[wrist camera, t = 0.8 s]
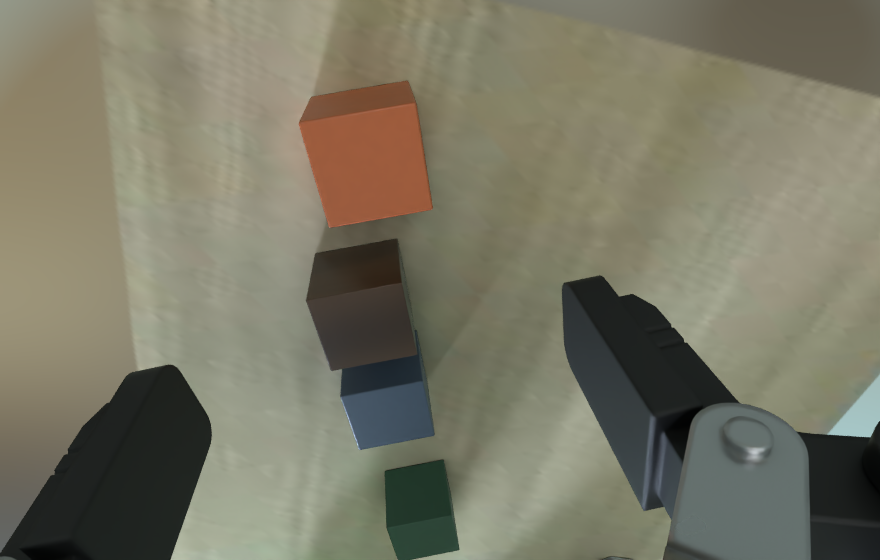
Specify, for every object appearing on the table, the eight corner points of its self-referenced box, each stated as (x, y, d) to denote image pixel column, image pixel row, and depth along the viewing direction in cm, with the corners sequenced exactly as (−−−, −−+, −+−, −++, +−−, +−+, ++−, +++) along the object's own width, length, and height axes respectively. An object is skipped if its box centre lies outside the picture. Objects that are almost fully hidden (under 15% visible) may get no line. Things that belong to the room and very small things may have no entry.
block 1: (310, 96, 22) (297, 122, 18) (408, 80, 23) (416, 102, 19) (335, 189, 25) (329, 229, 21) (423, 173, 25) (433, 210, 21)
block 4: (384, 470, 37) (386, 528, 33) (443, 459, 37) (452, 515, 34) (395, 505, 40) (398, 562, 36) (450, 494, 40) (459, 550, 36)
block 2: (314, 253, 27) (305, 300, 23) (397, 238, 27) (401, 282, 23) (335, 318, 29) (331, 371, 25) (411, 304, 29) (417, 355, 25)
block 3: (343, 342, 30) (339, 396, 26) (416, 329, 30) (423, 381, 26) (360, 394, 33) (358, 450, 29) (427, 381, 33) (434, 436, 29)
